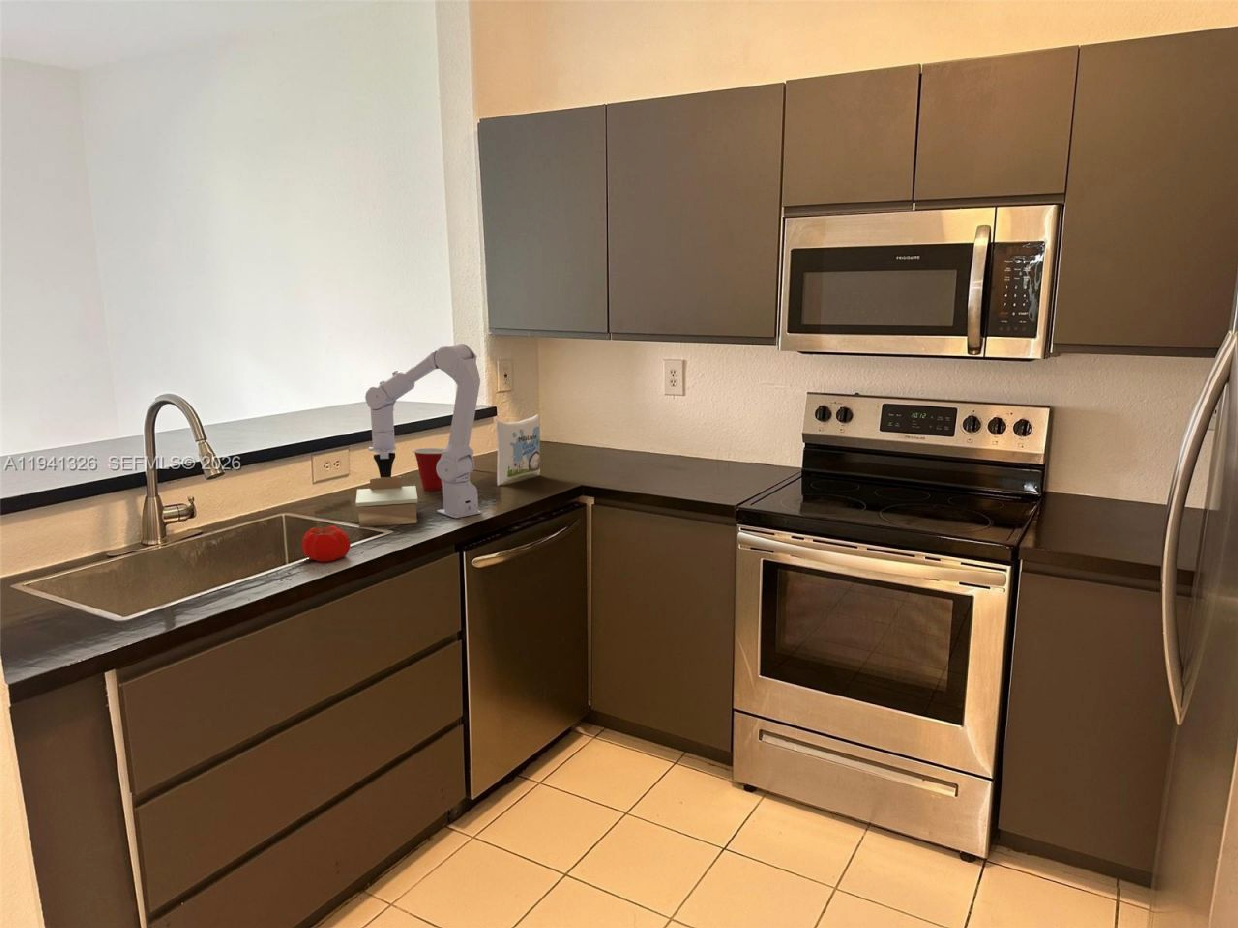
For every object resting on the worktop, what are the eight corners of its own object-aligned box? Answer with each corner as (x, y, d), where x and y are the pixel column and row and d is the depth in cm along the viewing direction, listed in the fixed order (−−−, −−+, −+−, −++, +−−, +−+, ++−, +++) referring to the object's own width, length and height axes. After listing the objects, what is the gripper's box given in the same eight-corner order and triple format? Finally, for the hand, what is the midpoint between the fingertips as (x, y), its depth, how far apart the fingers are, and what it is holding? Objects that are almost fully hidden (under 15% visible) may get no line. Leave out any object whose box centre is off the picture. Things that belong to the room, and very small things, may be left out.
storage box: (360, 513, 228) (359, 494, 227) (414, 509, 232) (413, 491, 231) (359, 526, 215) (357, 507, 214) (416, 522, 219) (415, 503, 218)
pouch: (488, 484, 262) (485, 419, 258) (532, 473, 276) (530, 412, 272) (506, 488, 257) (503, 421, 253) (550, 477, 271) (549, 414, 267)
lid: (357, 493, 228) (356, 478, 227) (415, 489, 232) (414, 475, 231) (355, 506, 214) (354, 491, 213) (417, 502, 217) (416, 487, 217)
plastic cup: (459, 486, 258) (457, 447, 256) (434, 494, 249) (432, 453, 247) (432, 483, 264) (430, 444, 262) (407, 490, 255) (405, 450, 252)
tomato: (339, 548, 198) (337, 520, 196) (356, 559, 189) (354, 530, 188) (296, 556, 192) (294, 527, 191) (311, 568, 183) (309, 538, 182)
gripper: (367, 427, 237) (371, 475, 239) (367, 436, 223) (370, 487, 226) (394, 426, 238) (397, 474, 241) (395, 434, 225) (398, 485, 227)
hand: (386, 480), depth 234 cm, fingers closed
